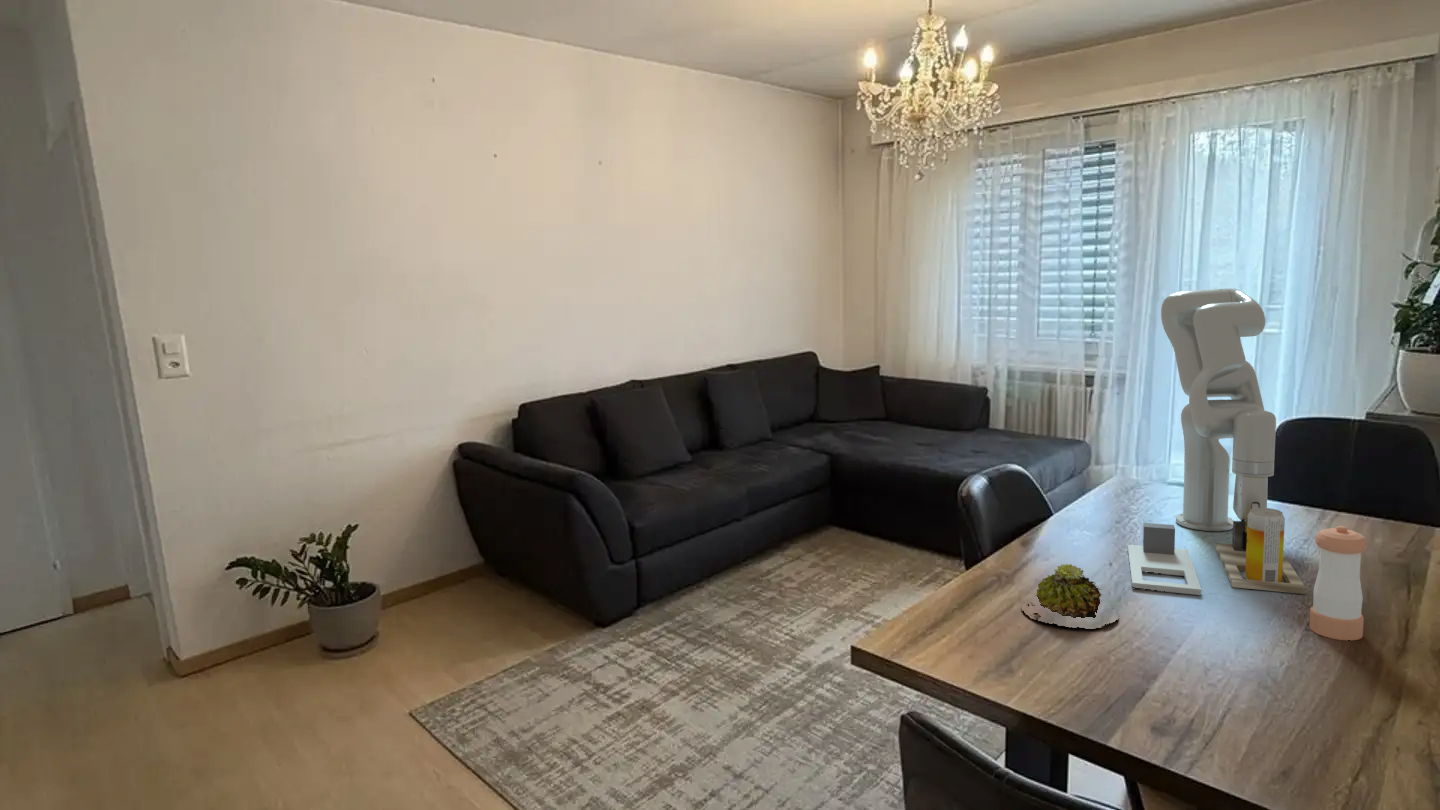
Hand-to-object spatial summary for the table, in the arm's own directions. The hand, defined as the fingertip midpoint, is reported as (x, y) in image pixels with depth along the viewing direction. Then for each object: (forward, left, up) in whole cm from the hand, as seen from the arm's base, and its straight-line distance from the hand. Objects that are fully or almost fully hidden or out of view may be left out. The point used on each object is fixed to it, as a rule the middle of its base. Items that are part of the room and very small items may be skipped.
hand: (1249, 546), depth 168 cm
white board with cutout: (+15, -18, -2) cm, 24 cm away
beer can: (+16, 0, -2) cm, 16 cm away
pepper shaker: (+37, +7, -2) cm, 38 cm away
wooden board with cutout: (+9, 0, -2) cm, 9 cm away
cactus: (+43, -35, -3) cm, 56 cm away
